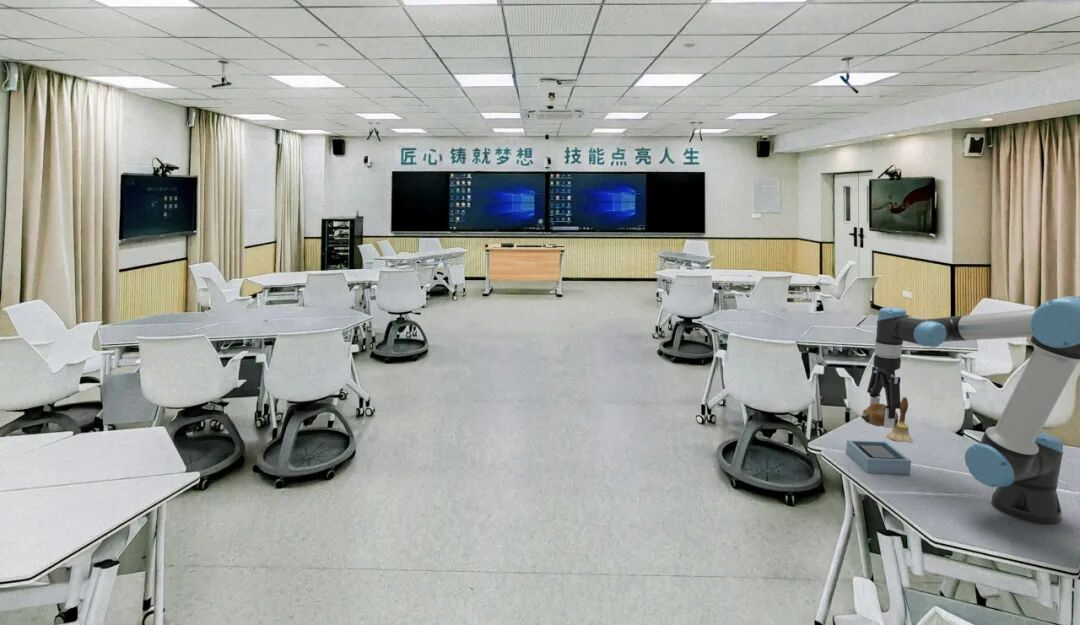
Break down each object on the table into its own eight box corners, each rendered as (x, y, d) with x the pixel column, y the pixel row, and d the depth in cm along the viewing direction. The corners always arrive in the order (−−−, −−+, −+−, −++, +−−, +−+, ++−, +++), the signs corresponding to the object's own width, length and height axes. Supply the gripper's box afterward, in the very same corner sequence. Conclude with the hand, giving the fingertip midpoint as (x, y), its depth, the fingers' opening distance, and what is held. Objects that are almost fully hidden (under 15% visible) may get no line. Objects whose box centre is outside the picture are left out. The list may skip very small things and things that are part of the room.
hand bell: (912, 437, 218) (917, 396, 216) (912, 444, 211) (917, 402, 209) (887, 432, 223) (891, 392, 220) (886, 439, 216) (890, 398, 213)
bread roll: (888, 439, 186) (902, 420, 183) (856, 420, 191) (870, 401, 187) (891, 430, 194) (906, 411, 191) (861, 412, 198) (875, 393, 195)
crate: (909, 477, 185) (911, 460, 184) (866, 475, 186) (868, 459, 185) (885, 456, 201) (886, 441, 200) (845, 455, 202) (847, 440, 201)
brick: (895, 469, 188) (896, 458, 187) (872, 468, 189) (873, 457, 188) (880, 457, 198) (881, 445, 197) (858, 456, 199) (859, 445, 198)
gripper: (918, 364, 176) (910, 434, 180) (883, 348, 198) (876, 410, 202) (892, 364, 177) (885, 433, 180) (860, 347, 199) (854, 409, 202)
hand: (880, 421), depth 191 cm, fingers closed on bread roll, 10 cm apart
